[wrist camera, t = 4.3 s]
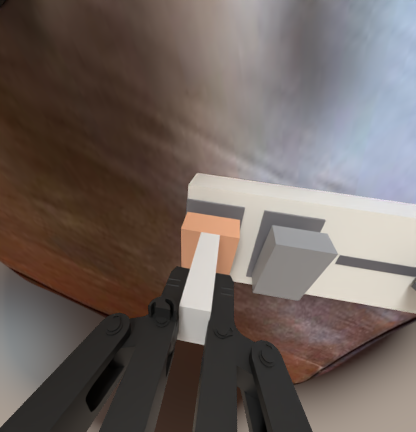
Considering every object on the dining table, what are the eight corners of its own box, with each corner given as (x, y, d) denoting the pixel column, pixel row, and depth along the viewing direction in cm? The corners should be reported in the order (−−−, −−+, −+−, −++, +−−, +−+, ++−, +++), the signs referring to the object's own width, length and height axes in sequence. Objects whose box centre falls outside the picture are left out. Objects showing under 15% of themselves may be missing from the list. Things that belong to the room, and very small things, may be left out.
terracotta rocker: (186, 262, 22) (181, 280, 20) (187, 211, 17) (181, 228, 15) (227, 269, 22) (225, 287, 20) (239, 219, 17) (239, 238, 15)
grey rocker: (251, 273, 22) (252, 292, 20) (272, 225, 17) (276, 244, 15) (293, 281, 22) (298, 300, 20) (327, 233, 17) (338, 254, 15)
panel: (190, 249, 28) (182, 274, 24) (197, 172, 23) (187, 185, 18) (391, 282, 27) (425, 317, 22) (451, 209, 21) (513, 234, 16)
